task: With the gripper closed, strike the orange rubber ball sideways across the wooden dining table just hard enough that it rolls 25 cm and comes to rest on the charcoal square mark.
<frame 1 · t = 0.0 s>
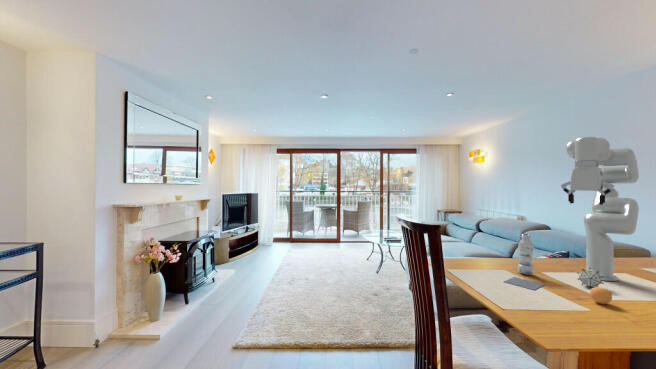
hand: (586, 203, 120), 37 cm above the table, tool pointing down, fingers open, 9 cm apart
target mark: (524, 283, 123), on the table
ball: (600, 295, 103), on the table
plastic bottle: (525, 274, 136), on the table
grey spiky piece: (589, 287, 120), on the table
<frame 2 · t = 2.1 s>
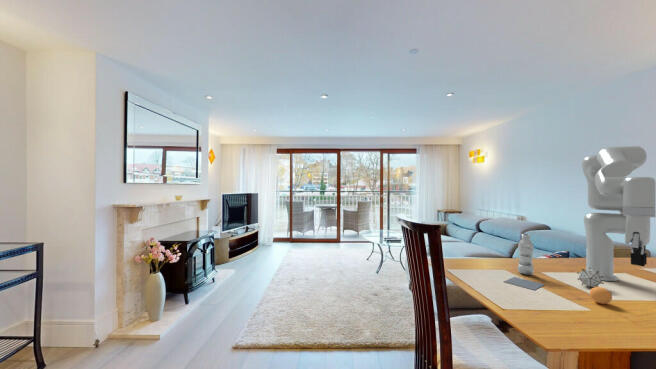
hand: (638, 263, 95), 17 cm above the table, tool pointing down, fingers open, 3 cm apart
nothing on the table moved.
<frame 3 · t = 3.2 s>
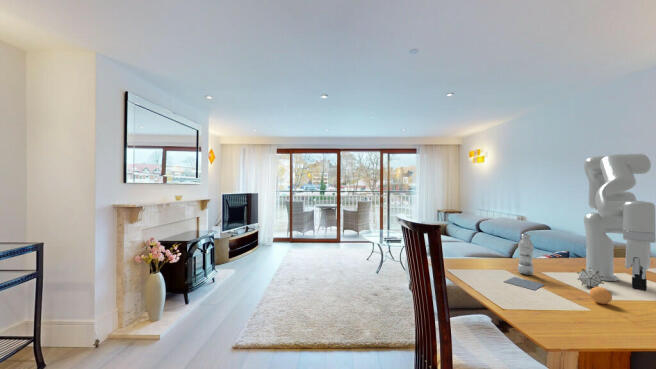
hand: (639, 289, 94), 8 cm above the table, tool pointing down, fingers closed
nothing on the table moved.
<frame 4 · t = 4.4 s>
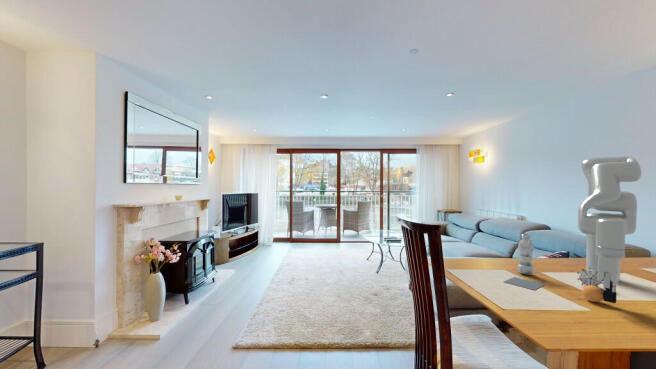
hand: (609, 301, 100), 2 cm above the table, tool pointing down, fingers closed
ball: (592, 293, 104), on the table
everything else where it was.
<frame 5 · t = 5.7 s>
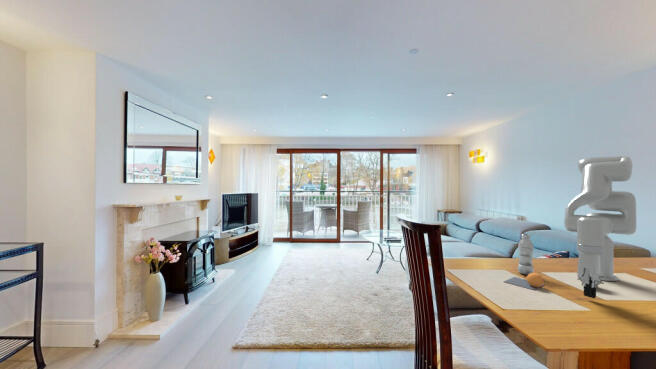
hand: (589, 296, 105), 2 cm above the table, tool pointing down, fingers closed
ball: (535, 280, 119), on the table
everything else where it was.
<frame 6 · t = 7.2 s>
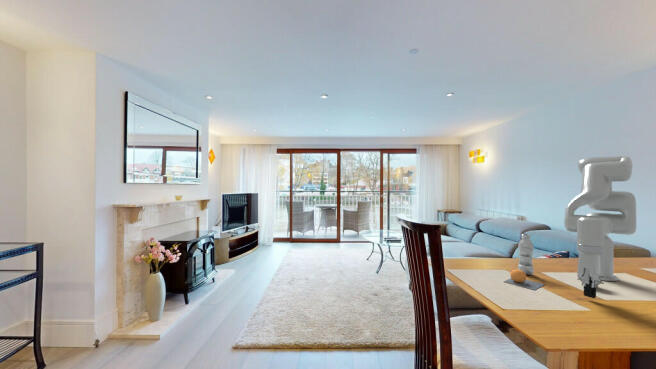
hand: (589, 296, 105), 2 cm above the table, tool pointing down, fingers closed
ball: (518, 275, 124), on the table
everything else where it was.
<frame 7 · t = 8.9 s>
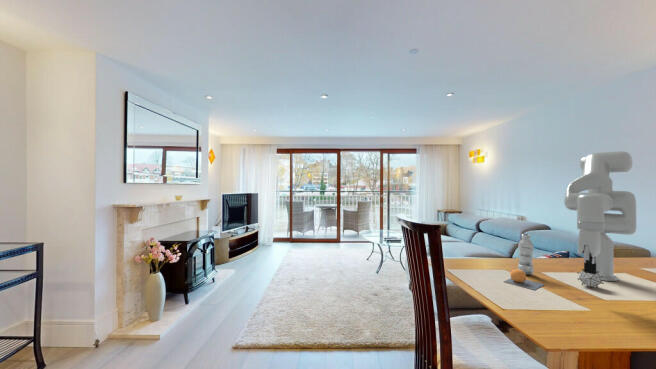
hand: (590, 272, 106), 11 cm above the table, tool pointing down, fingers closed
nothing on the table moved.
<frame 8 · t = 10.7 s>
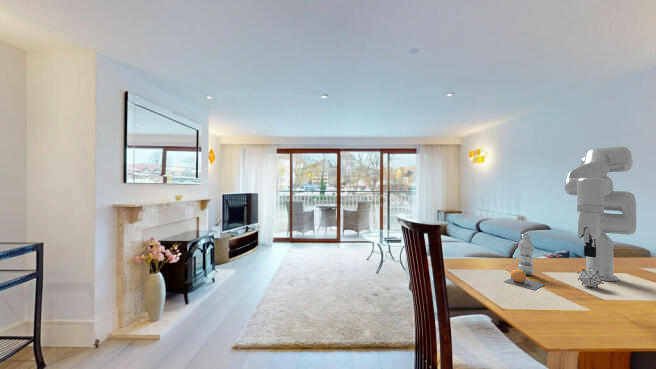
hand: (590, 256, 105), 17 cm above the table, tool pointing down, fingers closed
nothing on the table moved.
at the end: ball 2.2 cm from the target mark (horizontally); ball at rest at the end (0.0 cm/s); ball moved 27.0 cm from its start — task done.
